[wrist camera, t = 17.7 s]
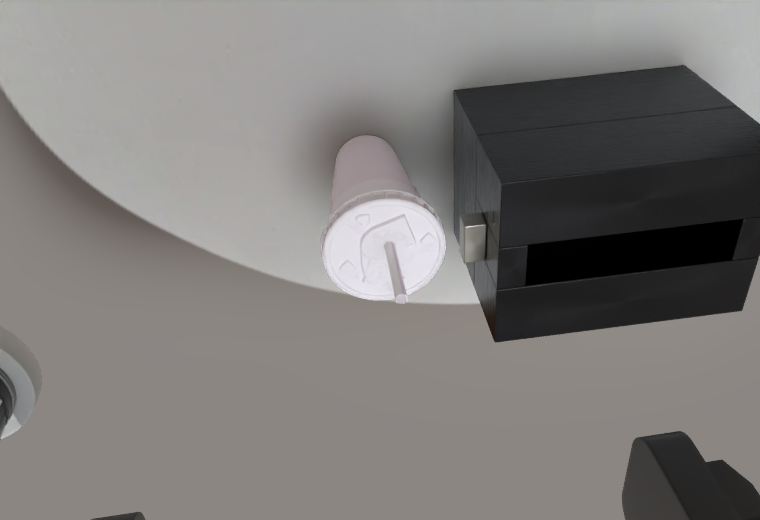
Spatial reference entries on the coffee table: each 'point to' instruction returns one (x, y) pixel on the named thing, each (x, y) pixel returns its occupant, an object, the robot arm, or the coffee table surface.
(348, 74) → the coffee table surface
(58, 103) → the coffee table surface
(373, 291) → the smoothie
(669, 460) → the robot arm
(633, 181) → the toaster
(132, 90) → the coffee table surface
